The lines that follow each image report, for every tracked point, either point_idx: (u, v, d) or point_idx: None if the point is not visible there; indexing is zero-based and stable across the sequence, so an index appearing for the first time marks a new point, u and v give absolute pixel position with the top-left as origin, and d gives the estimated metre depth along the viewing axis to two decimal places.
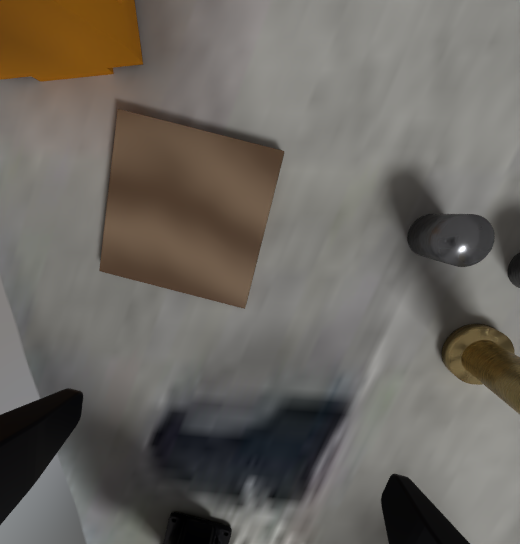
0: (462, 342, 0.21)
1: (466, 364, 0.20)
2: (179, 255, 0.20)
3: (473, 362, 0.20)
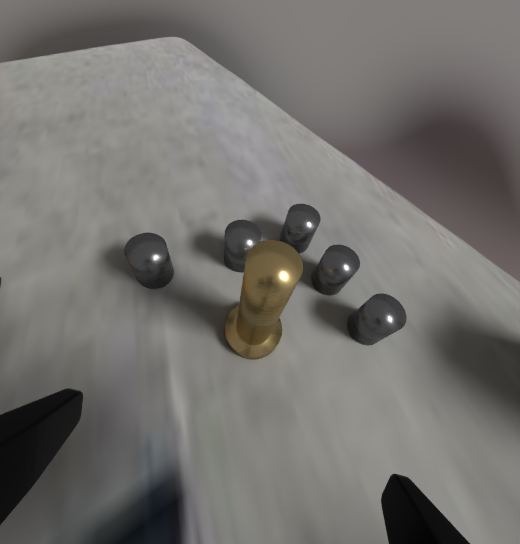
0: (229, 324, 0.22)
1: (242, 337, 0.21)
2: None
3: (238, 329, 0.21)
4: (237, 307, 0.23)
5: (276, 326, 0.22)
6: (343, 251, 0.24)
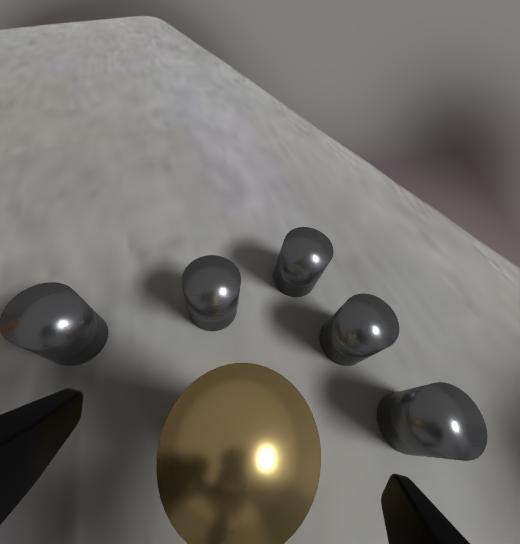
0: None
1: None
2: None
3: None
4: None
5: None
6: (371, 304, 0.15)
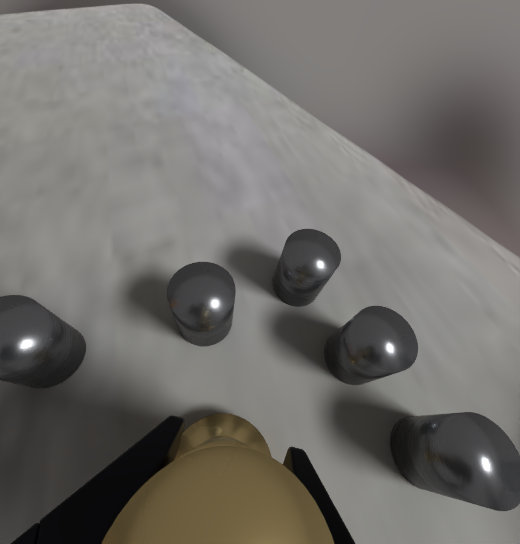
0: None
1: None
2: None
3: None
4: (190, 430, 0.12)
5: None
6: (384, 318, 0.13)
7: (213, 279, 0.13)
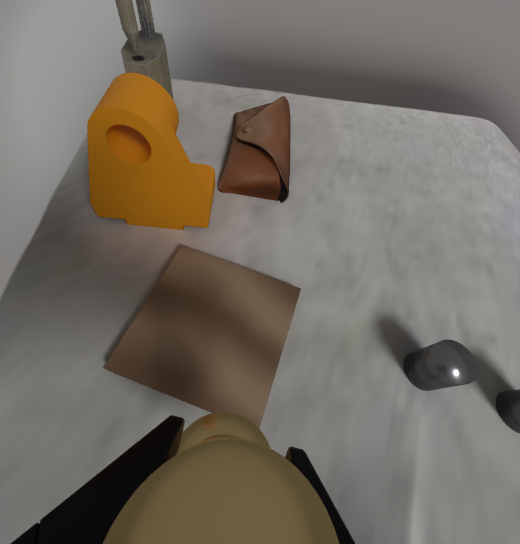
0: None
1: None
2: (198, 360, 0.20)
3: None
4: (191, 428, 0.12)
5: None
6: None
7: None
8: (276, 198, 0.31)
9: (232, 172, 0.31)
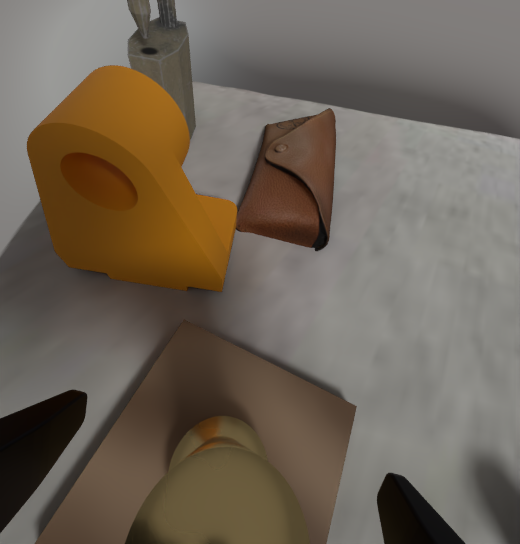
0: None
1: None
2: None
3: None
4: (193, 431, 0.13)
5: None
6: None
7: None
8: (310, 244, 0.23)
9: (254, 205, 0.23)
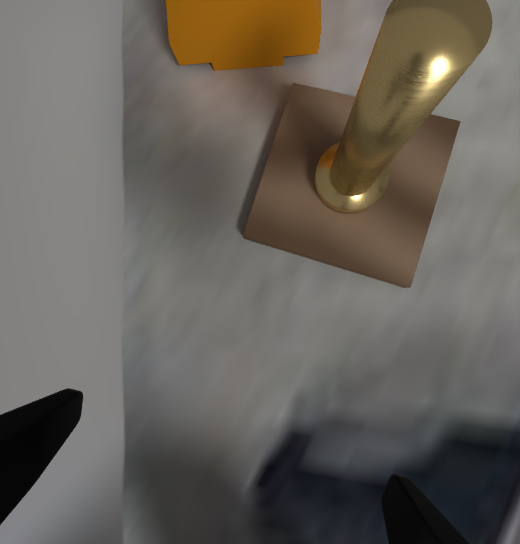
0: (321, 177, 0.18)
1: (340, 189, 0.17)
2: (337, 222, 0.19)
3: (336, 179, 0.17)
4: (326, 153, 0.18)
5: None
6: None
7: None
8: None
9: None
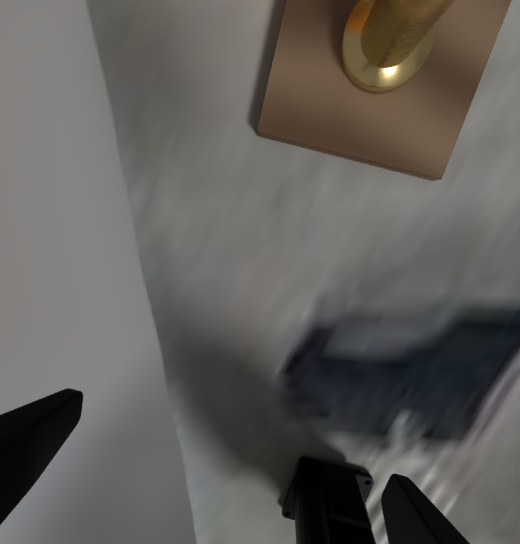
0: (350, 43, 0.15)
1: (375, 58, 0.14)
2: (366, 105, 0.16)
3: (372, 42, 0.13)
4: (358, 6, 0.14)
5: None
6: None
7: None
8: None
9: None
